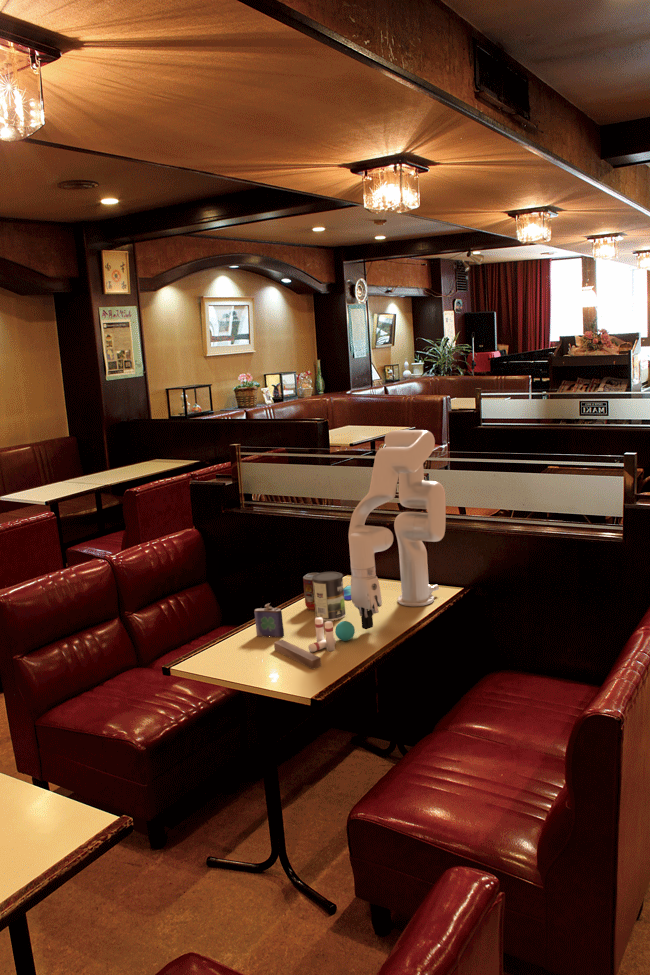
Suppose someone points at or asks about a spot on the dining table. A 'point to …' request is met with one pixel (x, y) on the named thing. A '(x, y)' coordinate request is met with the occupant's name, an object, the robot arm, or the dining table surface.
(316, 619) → the back pin right
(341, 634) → the ball
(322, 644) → the front pin
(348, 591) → the smartphone
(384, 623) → the dining table surface
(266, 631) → the flask
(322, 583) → the coffee can
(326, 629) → the back pin left
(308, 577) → the soda can
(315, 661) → the back wall
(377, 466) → the robot arm
